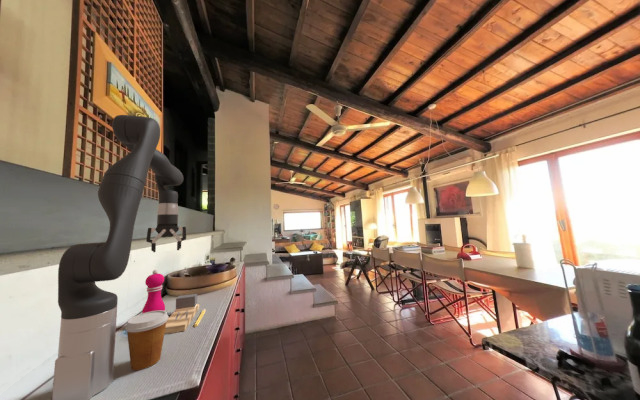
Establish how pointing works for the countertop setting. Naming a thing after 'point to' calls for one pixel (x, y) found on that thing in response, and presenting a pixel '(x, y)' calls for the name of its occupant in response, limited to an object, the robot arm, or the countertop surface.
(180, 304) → the sanding block
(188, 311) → the board
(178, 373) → the countertop surface
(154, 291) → the pepper mill
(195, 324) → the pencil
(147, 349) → the disposable coffee cup
